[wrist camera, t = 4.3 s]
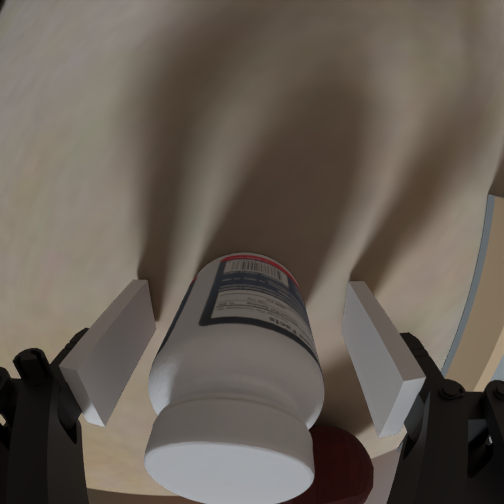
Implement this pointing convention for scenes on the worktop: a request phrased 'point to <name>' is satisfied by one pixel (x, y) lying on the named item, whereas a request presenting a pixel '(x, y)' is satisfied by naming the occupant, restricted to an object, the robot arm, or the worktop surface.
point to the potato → (337, 469)
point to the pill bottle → (236, 388)
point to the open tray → (482, 312)
